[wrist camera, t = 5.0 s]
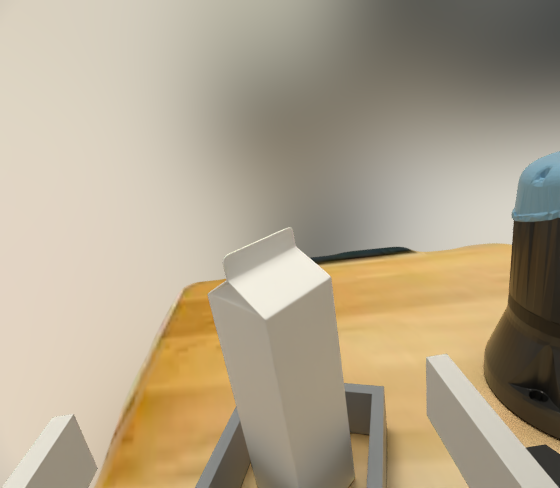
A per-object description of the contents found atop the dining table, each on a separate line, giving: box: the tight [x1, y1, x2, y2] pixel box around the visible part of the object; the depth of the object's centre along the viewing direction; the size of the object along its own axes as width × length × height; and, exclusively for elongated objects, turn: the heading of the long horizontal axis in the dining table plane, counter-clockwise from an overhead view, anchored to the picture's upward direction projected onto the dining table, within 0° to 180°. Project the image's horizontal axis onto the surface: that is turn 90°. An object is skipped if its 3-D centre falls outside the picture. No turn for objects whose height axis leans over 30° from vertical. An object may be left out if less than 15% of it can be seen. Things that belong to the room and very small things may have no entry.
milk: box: [208, 227, 355, 488], centre depth 25 cm, size 6×6×22 cm
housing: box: [195, 383, 387, 488], centre depth 28 cm, size 13×13×5 cm
